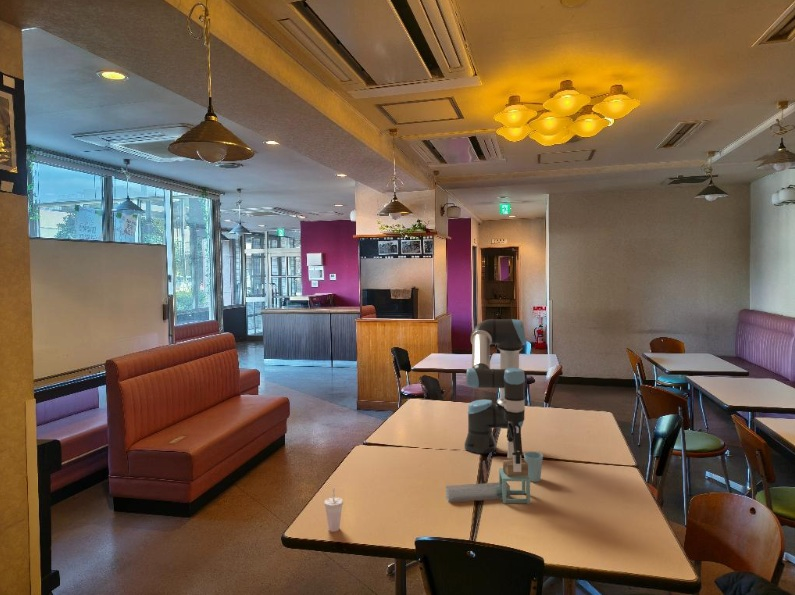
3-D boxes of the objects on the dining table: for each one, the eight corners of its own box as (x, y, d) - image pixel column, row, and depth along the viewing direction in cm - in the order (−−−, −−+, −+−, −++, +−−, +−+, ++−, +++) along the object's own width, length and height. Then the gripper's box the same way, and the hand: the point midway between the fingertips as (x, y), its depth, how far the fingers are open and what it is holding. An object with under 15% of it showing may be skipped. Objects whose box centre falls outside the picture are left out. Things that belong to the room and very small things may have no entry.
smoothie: (344, 524, 180) (343, 484, 180) (342, 533, 174) (342, 492, 173) (325, 524, 180) (324, 484, 179) (323, 534, 174) (322, 492, 173)
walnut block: (502, 471, 201) (502, 460, 201) (522, 470, 202) (522, 458, 202) (507, 476, 196) (507, 464, 196) (527, 475, 198) (527, 463, 197)
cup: (538, 484, 212) (538, 459, 211) (520, 480, 217) (520, 455, 216) (545, 478, 218) (545, 454, 217) (528, 474, 222) (528, 450, 222)
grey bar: (446, 498, 200) (445, 485, 200) (506, 494, 203) (506, 482, 203) (448, 503, 196) (448, 490, 196) (509, 498, 200) (509, 486, 199)
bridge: (499, 492, 205) (499, 468, 204) (524, 492, 204) (524, 468, 204) (502, 503, 195) (502, 478, 194) (530, 503, 194) (530, 478, 194)
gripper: (499, 401, 211) (499, 452, 212) (509, 419, 186) (509, 477, 187) (518, 401, 210) (518, 452, 211) (531, 419, 185) (530, 477, 187)
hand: (514, 464), depth 199 cm, fingers open, 13 cm apart
